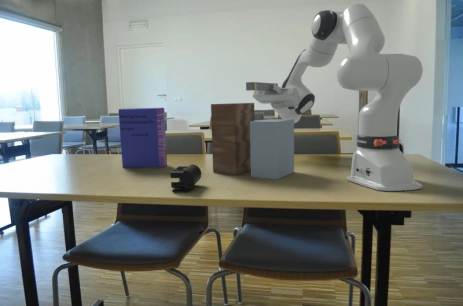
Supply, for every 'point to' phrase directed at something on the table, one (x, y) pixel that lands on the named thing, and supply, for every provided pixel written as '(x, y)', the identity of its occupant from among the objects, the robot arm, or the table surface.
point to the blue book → (143, 137)
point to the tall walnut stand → (231, 137)
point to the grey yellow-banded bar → (259, 86)
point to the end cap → (185, 177)
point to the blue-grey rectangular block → (272, 148)
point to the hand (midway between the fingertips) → (268, 85)
